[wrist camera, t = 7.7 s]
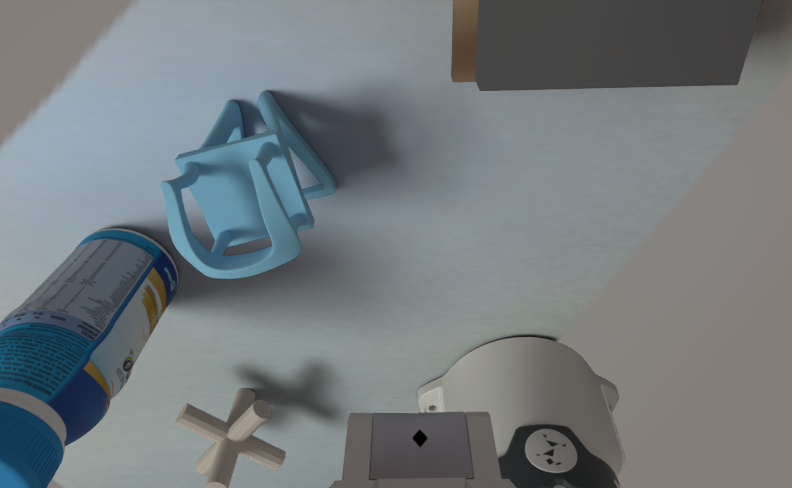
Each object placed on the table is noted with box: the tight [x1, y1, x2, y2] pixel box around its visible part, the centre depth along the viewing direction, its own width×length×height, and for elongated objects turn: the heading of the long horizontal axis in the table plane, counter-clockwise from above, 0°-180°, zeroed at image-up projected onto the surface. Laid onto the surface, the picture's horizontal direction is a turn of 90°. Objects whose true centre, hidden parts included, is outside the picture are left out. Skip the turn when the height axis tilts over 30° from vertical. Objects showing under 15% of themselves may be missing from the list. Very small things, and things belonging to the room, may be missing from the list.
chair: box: [161, 91, 336, 279], centre depth 34 cm, size 8×8×12 cm
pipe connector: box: [176, 388, 286, 488], centre depth 48 cm, size 10×10×10 cm
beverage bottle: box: [0, 228, 178, 488], centre depth 36 cm, size 8×8×20 cm
